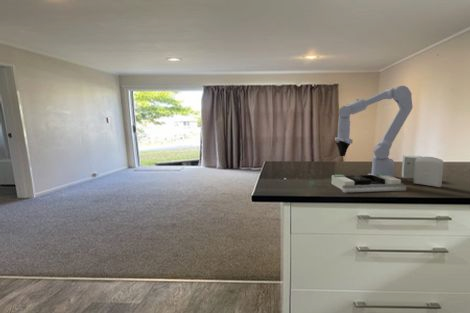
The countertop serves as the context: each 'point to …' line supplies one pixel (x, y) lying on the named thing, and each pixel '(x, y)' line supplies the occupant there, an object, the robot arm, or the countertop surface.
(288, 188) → the countertop surface
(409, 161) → the small box
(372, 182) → the battery charger
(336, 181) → the block
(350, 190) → the rail
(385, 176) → the block
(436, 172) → the photo printer
